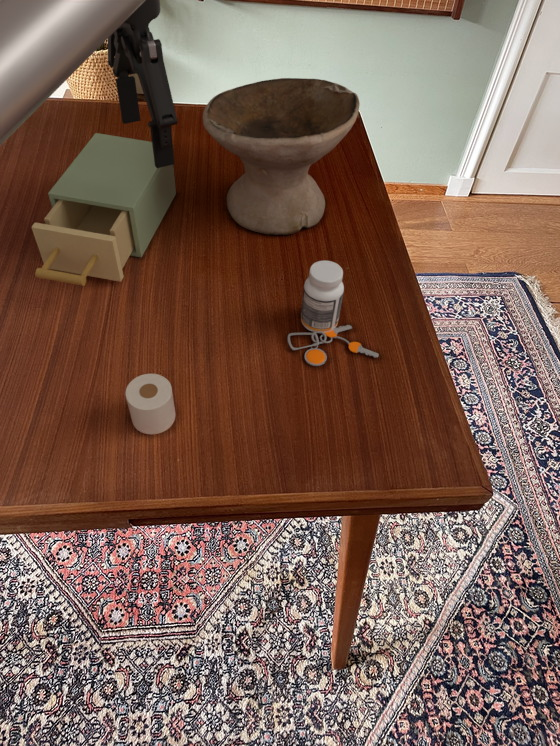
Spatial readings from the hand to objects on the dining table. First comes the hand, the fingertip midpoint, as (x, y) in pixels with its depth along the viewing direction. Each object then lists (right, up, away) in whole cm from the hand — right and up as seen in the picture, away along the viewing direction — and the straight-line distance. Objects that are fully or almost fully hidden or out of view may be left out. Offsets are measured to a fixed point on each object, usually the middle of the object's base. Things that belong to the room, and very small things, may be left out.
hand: (147, 142), depth 86 cm
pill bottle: (+26, -27, +1) cm, 38 cm away
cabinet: (-8, -8, +14) cm, 17 cm away
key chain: (+27, -31, -2) cm, 41 cm away
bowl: (+19, -4, +19) cm, 27 cm away
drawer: (-10, -15, +6) cm, 19 cm away
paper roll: (+3, -40, -12) cm, 42 cm away
